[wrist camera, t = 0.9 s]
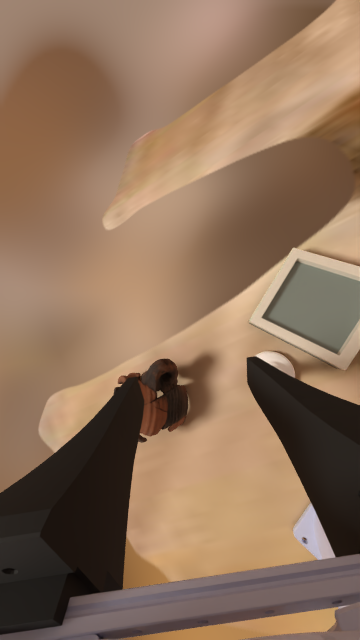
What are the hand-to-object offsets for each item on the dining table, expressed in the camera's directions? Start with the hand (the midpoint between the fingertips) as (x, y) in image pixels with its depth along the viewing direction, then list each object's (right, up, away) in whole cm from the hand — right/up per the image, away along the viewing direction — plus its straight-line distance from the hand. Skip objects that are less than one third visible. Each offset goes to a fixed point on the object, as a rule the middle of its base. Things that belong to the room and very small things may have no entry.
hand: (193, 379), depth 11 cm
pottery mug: (-4, -7, +15) cm, 17 cm away
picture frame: (+15, +5, +9) cm, 18 cm away
